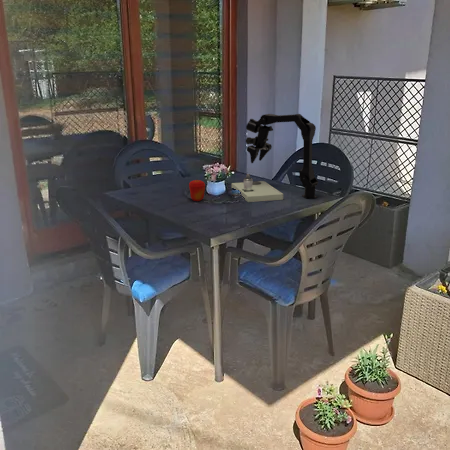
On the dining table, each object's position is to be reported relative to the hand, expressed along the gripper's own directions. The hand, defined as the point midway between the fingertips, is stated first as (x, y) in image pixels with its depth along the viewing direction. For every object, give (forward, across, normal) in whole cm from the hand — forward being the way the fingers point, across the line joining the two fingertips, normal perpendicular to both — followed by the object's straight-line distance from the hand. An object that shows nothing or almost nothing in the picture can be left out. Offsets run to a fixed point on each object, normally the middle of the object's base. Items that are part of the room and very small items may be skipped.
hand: (255, 161), depth 284 cm
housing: (+13, +11, +11) cm, 20 cm away
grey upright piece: (+14, +17, +9) cm, 24 cm away
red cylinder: (+18, +40, -8) cm, 45 cm away
